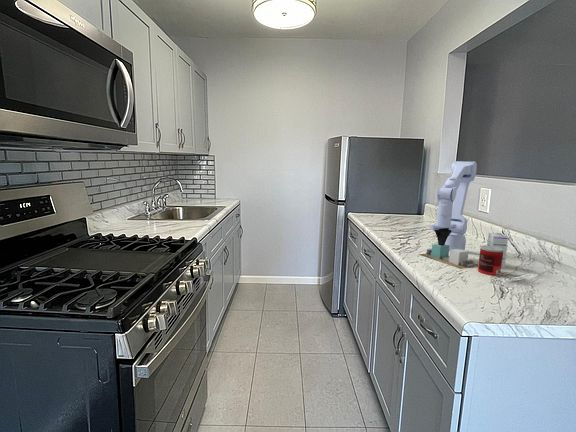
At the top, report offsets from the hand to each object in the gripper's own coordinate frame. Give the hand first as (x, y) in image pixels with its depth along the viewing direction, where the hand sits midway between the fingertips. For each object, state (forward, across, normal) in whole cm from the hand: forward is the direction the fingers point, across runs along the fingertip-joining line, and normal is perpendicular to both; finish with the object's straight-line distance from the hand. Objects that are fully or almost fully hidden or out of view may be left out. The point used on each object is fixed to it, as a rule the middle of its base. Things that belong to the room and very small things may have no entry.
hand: (441, 245), depth 152 cm
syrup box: (+7, -12, +17) cm, 22 cm away
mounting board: (+7, 0, +4) cm, 8 cm away
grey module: (+6, 0, +9) cm, 11 cm away
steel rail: (+6, 0, +4) cm, 7 cm away
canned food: (+7, -1, +22) cm, 23 cm away
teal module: (+5, 0, 0) cm, 5 cm away
